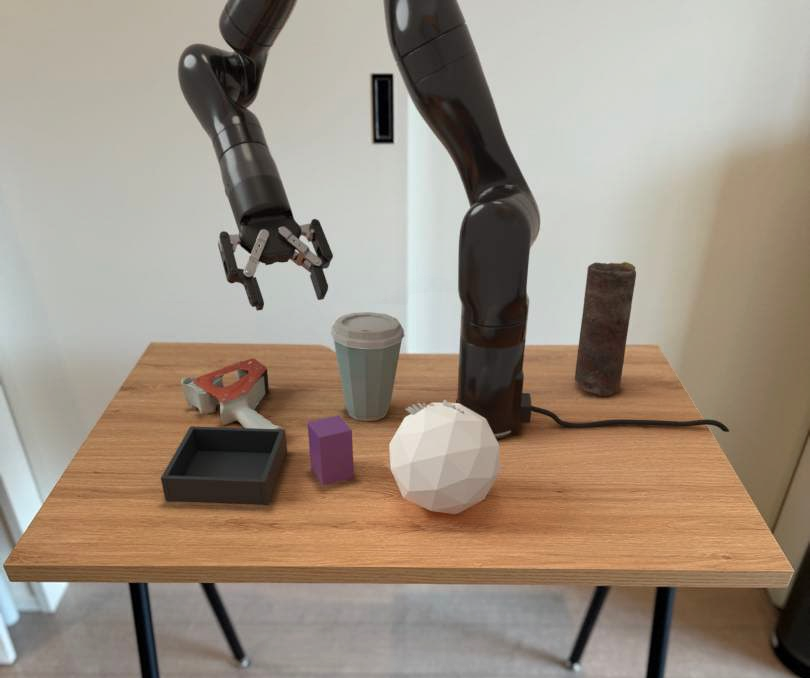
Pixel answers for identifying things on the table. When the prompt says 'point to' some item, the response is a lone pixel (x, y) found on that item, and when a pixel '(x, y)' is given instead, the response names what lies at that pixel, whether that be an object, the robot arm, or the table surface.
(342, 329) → the disposable coffee cup
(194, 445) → the tray
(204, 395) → the tape dispenser
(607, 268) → the candle
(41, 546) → the table surface
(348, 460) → the plum block
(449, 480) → the geodesic sphere
